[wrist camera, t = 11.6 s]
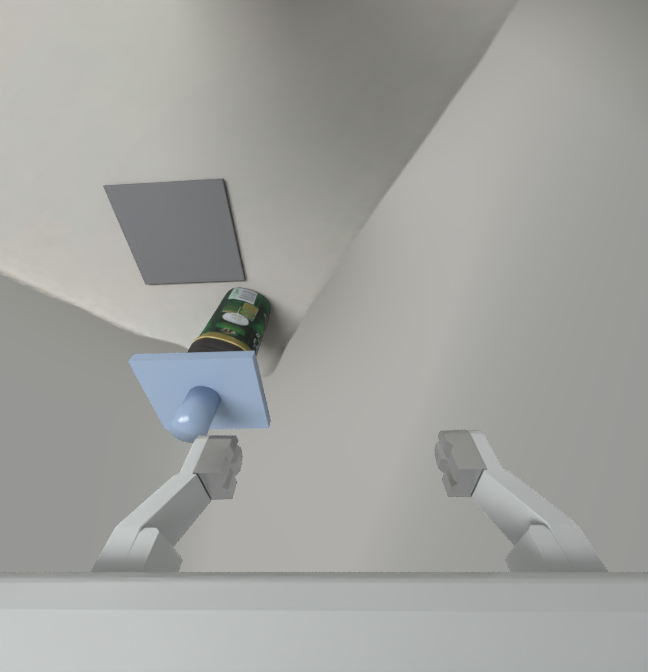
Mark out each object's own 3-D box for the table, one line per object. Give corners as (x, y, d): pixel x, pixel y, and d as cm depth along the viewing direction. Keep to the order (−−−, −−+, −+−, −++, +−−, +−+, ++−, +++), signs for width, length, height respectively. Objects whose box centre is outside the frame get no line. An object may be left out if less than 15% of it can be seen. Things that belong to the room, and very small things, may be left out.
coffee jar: (262, 340, 52) (233, 423, 36) (218, 326, 50) (169, 407, 35) (277, 296, 47) (251, 370, 31) (229, 279, 45) (177, 348, 30)
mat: (105, 185, 38) (103, 185, 38) (223, 178, 37) (222, 179, 37) (147, 283, 46) (145, 284, 45) (245, 278, 45) (244, 280, 45)
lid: (134, 354, 30) (97, 393, 26) (254, 350, 30) (240, 390, 25) (170, 422, 37) (146, 464, 32) (270, 420, 36) (261, 462, 31)
